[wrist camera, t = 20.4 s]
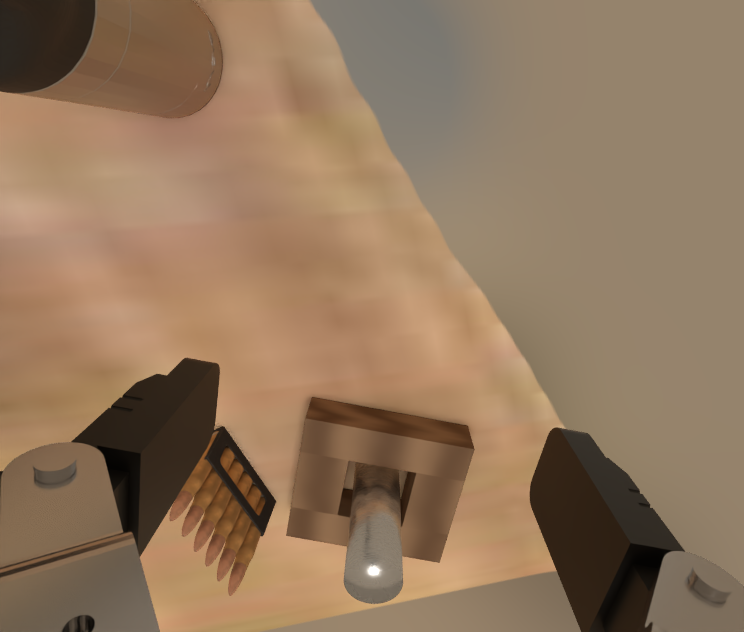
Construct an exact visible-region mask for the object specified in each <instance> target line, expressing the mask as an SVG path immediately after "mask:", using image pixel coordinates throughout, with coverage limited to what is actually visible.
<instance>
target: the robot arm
mask: <svg viewBox="0 0 744 632" xmlns="http://www.w3.org/2000/svg"><path fill="white" fill-rule="evenodd" d="M221 71H222V52H221V47H220V43H219V39H218V36H217V34H216V31H215V29H214V27H213V25H212V23H211V22H210V20H209V19H208V17H207V15H206V14H205V13H204V12H203V11H202V10H201V9H200V8H199V7H198V5H197V4H195V3H194V2H193V1H192V0H0V91H2V92H8V93H14V94H20V95H27V96H33V97H39V98H46V99H53V100H60V101H66V102H72V103H78V104H85V105H91V106H97V107H103V108H109V109H116V110H122V111H128V112H134V113H139V114H146V115H152V116H158V117H165V118H180V117H184V116H188V115H191V114H193V113H195V112H197V111H198V110H200V109H201V108H202V107H203V106H205V105H206V104H207V103H208V102H209V100H210V99H211V97H212V96H213V95H214V93H215V91H216V89H217V86H218V84H219V81H220V77H221ZM219 375H220V369H219V365H218V364H217V363H212V362H206V361H201V360H196V359H190V358H184V359H183V360H182V361H181V362H180V363H179V364H178V365H177V366H176V367H175V368H174V369H173V370H172V371H171V372H170V373H169V374H168V375H167V376H166V375H161V374H156V375H153V376H151V377H149V378H146V379H144V380H142V381H139V382H137V383H136V384H135V385H133V386H132V387H131V388H130V389H129V390H128V391H127V392H126V393H125V394H124V395H123V397H122V398H121V397H120V398H119V399H118V400H117V401H116V402H115V403H114V404H112V406H111V408H108V409H107V410H106V411H105V412H104V413H103V414H101V415H100V416H99V417H98V418H97V419H96V420H95V421H94V422H93V423H92V424H90V425H89V426H88V427H87V428H86V429H85V430H84V431H83V432H82V433H81V434H79V435H78V436H77V437H76V438H75V439H74V440H73V441H72V442H64V443H54V444H49V445H44V446H41V447H38V448H35V449H32V450H30V451H27V452H26V453H24V454H22V455H20V456H18V457H17V458H15V459H14V460H13V461H12V462H10V463H9V464H8V465H7V467H6V468H5V469H4V471H0V632H160V630H159V626H158V623H157V619H156V615H155V612H154V608H153V604H152V601H151V597H150V593H149V590H148V586H147V582H146V579H145V575H144V571H143V568H142V564H141V560H140V556H141V554H142V553H143V551H144V549H145V548H146V546H147V544H148V543H149V541H150V540H151V538H152V536H153V535H154V533H155V532H156V530H157V528H158V527H159V525H160V523H161V522H162V520H163V519H164V517H165V515H166V514H167V512H168V510H169V509H170V507H171V506H172V504H173V502H174V501H175V499H176V498H177V496H178V494H179V493H180V491H181V489H182V488H183V486H184V485H185V483H186V481H187V480H188V478H189V477H190V475H191V473H192V472H193V470H194V468H195V467H196V465H197V464H198V462H199V460H200V459H201V457H202V455H203V454H204V452H205V451H206V449H207V447H208V445H209V443H210V440H211V438H212V434H213V431H214V426H215V419H216V408H217V397H218V386H219ZM530 503H531V507H532V510H533V513H534V515H535V518H536V520H537V523H538V525H539V528H540V530H541V533H542V535H543V538H544V540H545V542H546V545H547V547H548V550H549V552H550V555H551V557H552V560H553V562H554V565H555V567H556V570H557V572H558V575H559V577H560V580H561V582H562V584H563V587H564V590H565V592H566V595H567V597H568V600H569V602H570V604H571V607H572V610H573V612H574V615H575V617H576V619H577V622H578V625H579V627H580V630H581V632H744V586H743V585H742V584H741V583H739V582H738V581H737V580H736V579H735V578H734V577H733V576H732V575H730V574H729V573H728V572H726V571H725V570H723V569H722V568H721V567H719V566H717V565H716V564H714V563H712V562H710V561H708V560H706V559H704V558H702V557H699V556H697V555H695V554H692V553H688V552H685V551H684V550H683V548H682V547H681V546H680V544H679V543H678V541H677V540H676V539H675V537H674V536H673V535H672V533H671V532H670V531H669V529H668V528H667V527H666V525H665V524H664V523H663V521H662V520H661V518H660V517H659V516H658V514H657V513H656V512H655V510H654V509H653V508H650V504H649V502H648V501H647V500H646V499H645V497H644V496H643V494H640V491H639V489H638V488H637V486H636V485H635V483H634V482H633V481H632V479H631V478H630V477H629V475H628V474H627V473H626V472H624V471H623V470H622V469H621V468H620V467H618V466H617V465H616V464H615V463H613V462H612V461H611V460H610V459H609V458H606V457H605V456H604V454H603V453H602V452H601V450H600V449H599V447H598V446H597V445H596V443H595V442H594V440H593V439H592V438H591V436H590V435H589V434H588V433H584V432H578V431H573V430H567V429H562V428H553V429H552V430H551V431H550V433H549V435H548V437H547V440H546V443H545V445H544V448H543V451H542V453H541V456H540V459H539V462H538V464H537V467H536V470H535V473H534V475H533V478H532V481H531V486H530Z"/></svg>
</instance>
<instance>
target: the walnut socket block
mask: <svg viewBox="0 0 744 632" xmlns="http://www.w3.org/2000/svg"><path fill="white" fill-rule="evenodd" d="M473 452H474V446H473V443H472V439H471V436H470V432H469V429H468V426H465V425H460V424H454V423H449V422H443V421H438V420H433V419H427V418H422V417H416V416H411V415H406V414H400V413H395V412H389V411H384V410H379V409H373V408H368V407H362V406H357V405H352V404H346V403H341V402H335V401H330V400H325V399H319V398H314V397H312V399H311V402H310V406H309V409H308V412H307V415H306V418H305V424H304V430H303V436H302V443H301V449H300V455H299V461H298V467H297V473H296V479H295V485H294V491H293V497H292V503H291V510H290V516H289V522H288V528H287V534H286V536H291V537H296V538H302V539H308V540H313V541H319V542H325V543H330V544H336V545H342V546H347V544H348V534H349V524H350V515H351V505H352V495H353V490H348V489H343V486H344V481H345V476H346V471H347V466H348V461H354V462H360V463H365V464H371V465H376V466H382V467H387V468H393V469H398V470H404V471H408V475H407V479H406V483H405V487H404V490H403V494H402V498H401V499H400V512H401V540H402V556H404V557H410V558H415V559H421V560H427V561H432V562H438V563H440V559H441V556H442V553H443V550H444V546H445V543H446V540H447V537H448V533H449V530H450V527H451V524H452V520H453V517H454V514H455V511H456V508H457V504H458V501H459V498H460V495H461V491H462V488H463V485H464V482H465V478H466V475H467V472H468V469H469V465H470V462H471V459H472V456H473Z"/></svg>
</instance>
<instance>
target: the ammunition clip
mask: <svg viewBox="0 0 744 632" xmlns="http://www.w3.org/2000/svg"><path fill="white" fill-rule="evenodd" d="M194 495H195V496H194ZM193 497H194V500H193V503H192V505H191V507H190V510H189V512H188V514H187V516H186V518H185V521H184V524H183V528H182V536H183V537H184V536H186V535H188V534H189V533H190V532H191V531H192V530H193V529H194V527H195V526H196V525H197V523H198V522H199V520H200V518H201V516H202V515H203V513H204V512H205V514H204V517H203V520H202V522H201V525H200V527H199V529H198V531H197V534H196V537H195V542H194V551H195V552H197V551H198V550H199V549H201V548H202V546H203V545H204V544H205V543H206V541H207V540H208V538H209V537H210V535H211V533H212V531H213V529H214V528H215V531H214V533H213V536H212V539H211V541H210V544H209V546H208V549H207V553H206V560H205V564H206V566H209V565H211V564H212V563H213V561H214V560H215V559H216V557H217V556H218V554H219V553H220V551H221V549H222V547H223V545H224V543H225V541H226V543H225V547H224V549H223V553H222V556H221V558H220V561H219V565H218V571H217V580H218V581H221V580H222V579H223V578H224V576H225V575H226V574H227V572H228V571H229V569H230V567H231V565H232V564H233V561H234V559H235V557H236V559H235V562H234V565H233V569H232V572H231V575H230V580H229V587H228V592H229V595H230V596H231V595H232V594H233V593H234V592H235V591H236V589H237V588H238V587H239V585H240V583H241V581H242V579H243V577H244V574H245V571H246V570H247V567H248V565H249V562H250V561H251V559H252V557H253V555H254V552H255V549H256V547H257V544H258V541H259V538H260V535H261V536H263V535H264V533H265V530H266V527H267V524H268V522H269V519H270V516H271V514H272V511H273V508H274V506H275V503H276V500H275V499H274V497H273V496H272V495H271V493H270V492H269V490H268V489H267V487H266V486H265V485H264V483H263V482H262V480H261V479H260V477H259V476H258V475H257V473H256V472H255V470H254V469H253V467H252V466H251V465H250V463H249V462H248V460H247V459H246V457H245V456H244V454H243V453H242V452H241V450H240V449H239V447H238V446H237V444H236V443H235V442H234V440H233V439H232V437H231V436H230V434H229V433H228V432H227V430H226V429H225V427H221V428H218V429H216V430H214V431H213V434H212V438H211V440H210V443H209V445H208V447H207V449H206V451H205V452H204V454H203V455H202V457H201V459H200V460H199V462H198V464H197V465H196V467H195V468H194V470H193V472H192V473H191V475H190V477H189V478H188V480H187V481H186V483H185V485H184V486H183V488H182V489H181V491H180V493H179V494H178V496H177V498H176V499H175V501H174V503H173V506H172V508H171V512H170V521H173V520H175V519H176V518H178V517H179V516H180V515H181V514H182V513H183V511H184V510H185V509H186V507H187V506H188V504H189V503H190V501H191V500H192V498H193Z"/></svg>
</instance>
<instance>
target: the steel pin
mask: <svg viewBox="0 0 744 632" xmlns="http://www.w3.org/2000/svg"><path fill="white" fill-rule="evenodd" d="M344 585H345V588H346V590H347V591H348V593H349V594H350V595H351V596H352V597H354V598H355V599H357V600H359V601H362V602H365V603H371V604H378V603H384V602H387V601H389V600H391V599H393V598H394V597H396V596H397V595H398V594H399V592H400V591H401V589H402V586H403V568H402V540H401V512H400V484H399V470H398V469H393V468H387V467H382V466H376V465H371V464H365V463H360V462H356V466H355V476H354V485H353V495H352V505H351V515H350V524H349V534H348V544H347V553H346V563H345V573H344Z"/></svg>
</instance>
